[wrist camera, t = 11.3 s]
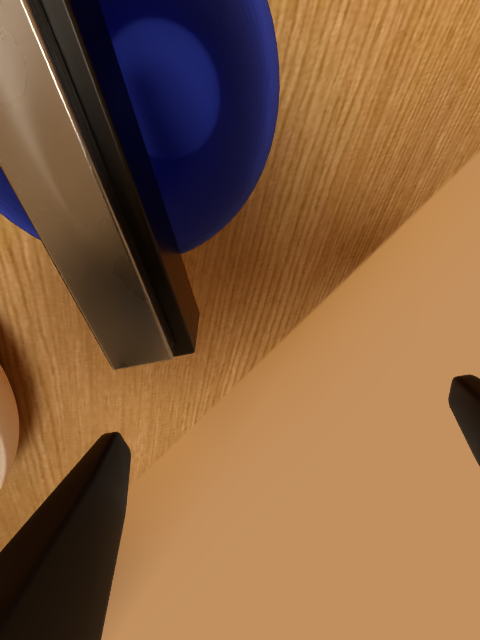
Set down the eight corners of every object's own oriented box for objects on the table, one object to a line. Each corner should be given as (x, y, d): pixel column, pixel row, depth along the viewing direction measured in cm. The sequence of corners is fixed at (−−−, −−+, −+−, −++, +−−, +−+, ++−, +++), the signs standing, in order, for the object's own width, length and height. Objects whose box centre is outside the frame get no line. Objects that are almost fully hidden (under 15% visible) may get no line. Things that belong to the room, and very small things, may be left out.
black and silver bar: (200, 314, 11) (193, 369, 9) (128, 327, 11) (104, 385, 9) (73, -82, 6) (-14, -181, 4) (-49, -44, 6) (-197, -118, 4)
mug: (103, 251, 20) (14, 363, 12) (53, -38, 13) (-237, -256, 5) (241, 257, 20) (251, 369, 12) (260, -18, 14) (311, -187, 5)
